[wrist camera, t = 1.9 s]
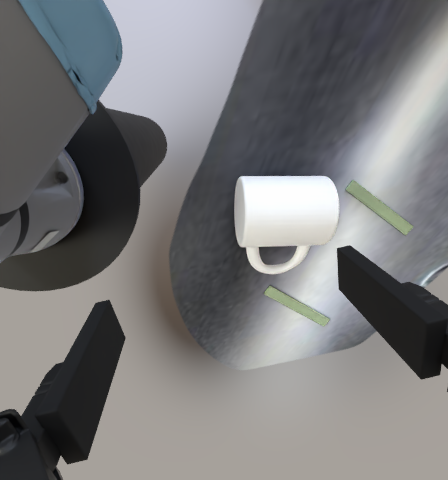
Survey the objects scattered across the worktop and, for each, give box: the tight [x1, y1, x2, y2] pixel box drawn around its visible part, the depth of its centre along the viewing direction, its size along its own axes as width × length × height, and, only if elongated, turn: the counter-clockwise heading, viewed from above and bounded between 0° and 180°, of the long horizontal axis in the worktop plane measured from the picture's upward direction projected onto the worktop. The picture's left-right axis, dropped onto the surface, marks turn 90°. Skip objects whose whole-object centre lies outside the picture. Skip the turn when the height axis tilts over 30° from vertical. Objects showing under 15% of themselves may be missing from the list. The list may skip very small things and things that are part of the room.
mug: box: [234, 176, 339, 274], centre depth 33 cm, size 12×10×8 cm
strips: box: [264, 180, 413, 326], centre depth 40 cm, size 12×20×1 cm, turn 146°
